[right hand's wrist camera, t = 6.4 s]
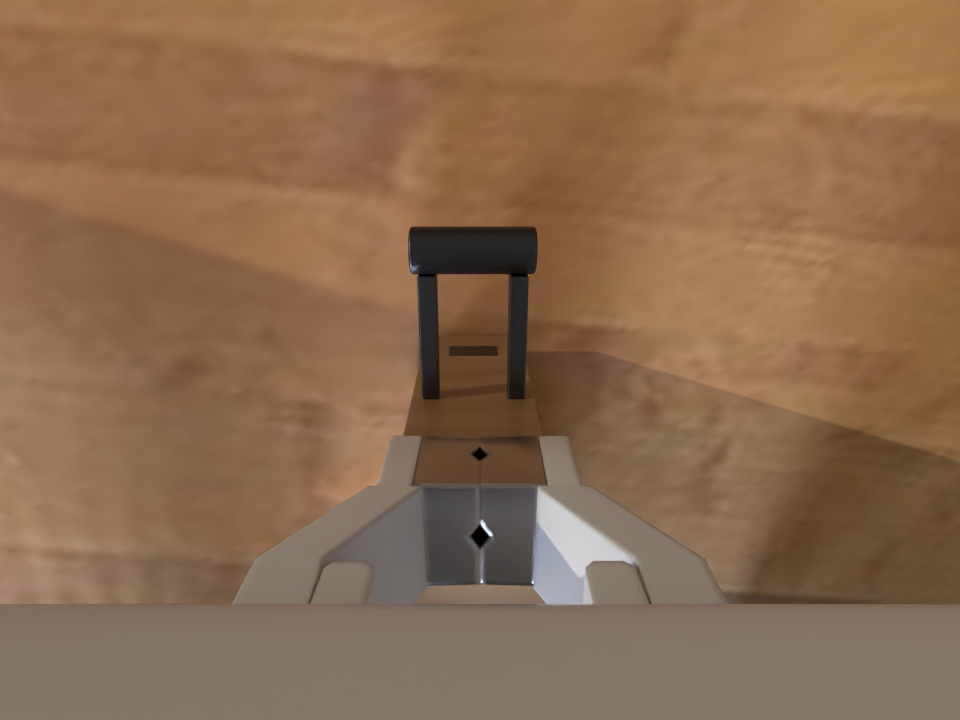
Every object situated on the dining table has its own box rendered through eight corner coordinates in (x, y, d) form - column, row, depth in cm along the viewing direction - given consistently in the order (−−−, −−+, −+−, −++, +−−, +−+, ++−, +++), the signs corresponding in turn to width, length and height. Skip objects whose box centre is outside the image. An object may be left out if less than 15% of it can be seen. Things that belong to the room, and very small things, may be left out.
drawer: (421, 202, 24) (392, 244, 16) (524, 202, 24) (553, 244, 16) (436, 641, 33) (422, 828, 24) (512, 640, 33) (526, 827, 24)
